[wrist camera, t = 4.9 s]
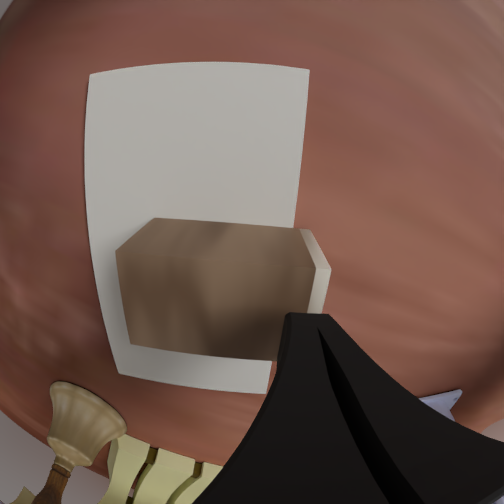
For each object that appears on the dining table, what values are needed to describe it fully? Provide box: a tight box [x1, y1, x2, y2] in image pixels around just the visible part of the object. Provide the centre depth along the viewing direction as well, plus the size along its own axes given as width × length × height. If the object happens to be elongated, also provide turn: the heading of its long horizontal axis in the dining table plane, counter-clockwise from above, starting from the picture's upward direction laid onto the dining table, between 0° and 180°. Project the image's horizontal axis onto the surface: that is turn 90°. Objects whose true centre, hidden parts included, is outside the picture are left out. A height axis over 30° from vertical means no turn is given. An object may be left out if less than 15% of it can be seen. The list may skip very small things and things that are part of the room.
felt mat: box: [85, 62, 309, 394], centre depth 13 cm, size 18×10×1 cm, turn 175°
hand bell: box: [31, 381, 127, 504], centre depth 12 cm, size 8×8×16 cm
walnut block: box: [115, 218, 331, 361], centre depth 11 cm, size 4×4×7 cm
